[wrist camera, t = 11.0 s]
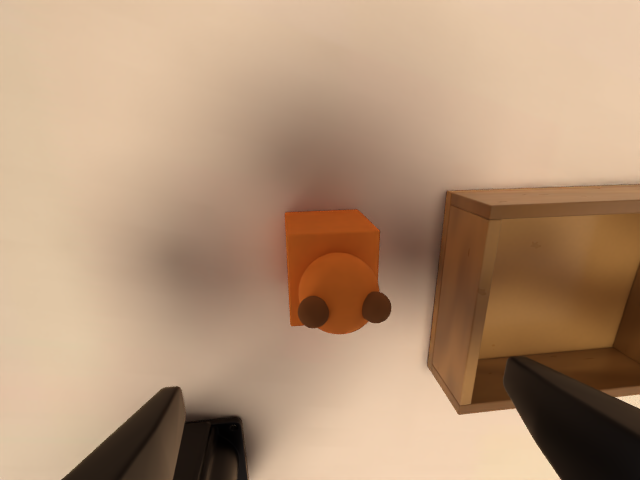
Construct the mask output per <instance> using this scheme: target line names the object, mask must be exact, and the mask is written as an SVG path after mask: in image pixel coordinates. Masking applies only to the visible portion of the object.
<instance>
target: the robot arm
mask: <svg viewBox="0 0 640 480" xmlns="http://www.w3.org/2000/svg"><path fill="white" fill-rule="evenodd" d="M503 385H504V388H505V390H506V392H507V394H508V395H509V397H510V399H511V401H512V402H513V404H514V406H515V408H516V409H517V411H518V413H519V415H520V416H521V418H522V420H523V422H524V423H525V425H526V427H527V428H528V430H529V432H530V434H531V435H532V437H533V439H534V440H535V442H536V444H537V445H538V447H539V448H540V450H541V451H542V453H543V454H544V455H545V457H546V458H547V460H548V461H549V463H550V464H551V466H552V467H553V469H554V470H555V471H556V473H557V474H558V476H559V477H560V479H561V480H640V409H639V408H637V407H634V406H632V405H630V404H628V403H626V402H624V401H621V400H619V399H617V398H615V397H613V396H611V395H608V394H606V393H604V392H602V391H600V390H598V389H595V388H593V387H591V386H589V385H587V384H584V383H582V382H580V381H578V380H576V379H574V378H571V377H569V376H567V375H565V374H563V373H561V372H558V371H556V370H554V369H552V368H550V367H548V366H545V365H543V364H541V363H539V362H537V361H534V360H532V359H530V358H528V357H526V356H511V357H509V358H508V359H507V362H506V366H505V371H504V376H503ZM185 417H186V412H185V406H184V400H183V395H182V390H181V388H180V387H178V386H176V387H165V388H163V389H161V390H160V391H159V392H158V393H157V394H156V395H154V396H153V397H152V398H151V399H150V400H149V401H148V402H147V403H146V404H145V405H143V406H142V407H141V408H140V409H139V410H138V411H137V412H136V413H135V414H134V415H132V416H131V417H130V418H129V419H128V420H127V421H126V422H125V423H124V424H123V425H121V426H120V427H119V428H118V429H117V430H116V431H115V432H114V433H113V434H112V435H110V436H109V437H108V438H107V439H106V440H105V441H104V442H103V443H102V444H100V445H99V446H98V447H97V448H96V449H95V450H94V451H93V452H92V453H91V454H89V455H88V456H87V457H86V458H85V459H84V460H83V461H82V462H81V463H80V464H78V465H77V466H76V467H75V468H74V469H73V470H72V471H71V472H70V473H69V474H67V475H66V476H65V477H64V478H63V479H62V480H249V477H248V468H247V460H246V451H245V443H244V434H243V426H242V421H241V419H240V418H237V417H232V418H222V419H213V420H203V421H194V422H185ZM233 425H236V426H233Z"/></svg>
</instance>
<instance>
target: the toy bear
mask: <svg viewBox="0 0 640 480" xmlns="http://www.w3.org/2000/svg"><path fill="white" fill-rule="evenodd" d="M285 229H286V248H287V268H288V288H289V308H290V325H291V326H302V325H305V326H307V327H309V328H319V329H321V330H323V331H325V332H328V333H332V334H347V333H351V332H354V331H356V330H358V329H360V328H361V327H363V326H364V325H365V324H366V323H367V322H368V321H369V322H372V323H381V322H383V321H385V320H386V319H387V318H388V317H389V315H390V312H391V303H390V301H389V299H388V298H387V296H386V295H384V294H383V293H380V292H379V287H378V264H379V242H380V231H379V229H377V228H376V227H375V226H374V225H373V224H372V223H371V222H370V221H369V220H368V219H367V218H366V217H365V216H364V215H363V214H362V213H361V212H360V211H359V210H357V209H355V210H330V211H306V212H286V213H285Z"/></svg>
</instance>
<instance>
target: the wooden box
mask: <svg viewBox="0 0 640 480" xmlns="http://www.w3.org/2000/svg"><path fill="white" fill-rule="evenodd" d="M511 356H526V357H528V358H530V359H532V360H534V361H537V362H539V363H541V364H543V365H545V366H548V367H550V368H552V369H554V370H556V371H558V372H561V373H563V374H565V375H567V376H569V377H571V378H574V379H576V380H578V381H580V382H582V383H584V384H587V385H589V386H591V387H593V388H595V389H598V390H600V391H602V392H604V393H606V394H608V395H611V396H613V397H621V396H629V395H638V394H640V184H635V185H606V186H577V187H548V188H518V189H489V190H460V191H447V195H446V204H445V213H444V222H443V231H442V240H441V249H440V258H439V267H438V276H437V285H436V294H435V303H434V312H433V321H432V330H431V339H430V348H429V357H428V368H429V369H430V371H431V372H432V374H433V375H434V377H435V379H436V380H437V382H438V383H439V385H440V386H441V388H442V390H443V391H444V393H445V394H446V396H447V397H448V399H449V401H450V402H451V404H452V405H453V407H454V408H455V410H456V412H457V413H458V414H459V415H461V414H470V413H479V412H488V411H496V410H505V409H514V408H515V406H514V404H513V402H512V401H511V399H510V397H509V395H508V394H507V392H506V390H505V388H504V385H503V376H504V371H505V366H506V362H507V359H508V358H509V357H511Z"/></svg>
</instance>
